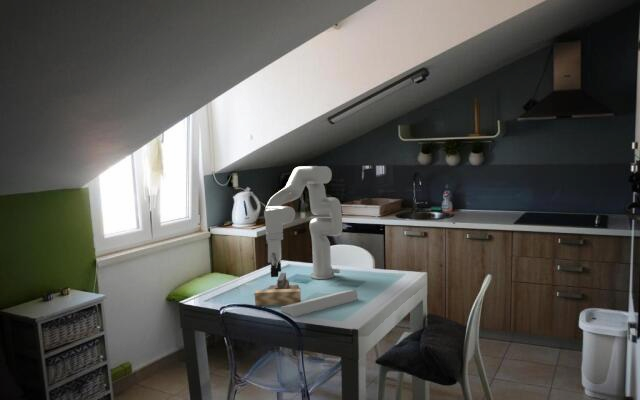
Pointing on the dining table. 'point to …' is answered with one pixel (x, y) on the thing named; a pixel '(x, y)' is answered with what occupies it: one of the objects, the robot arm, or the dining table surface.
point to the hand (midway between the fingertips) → (276, 274)
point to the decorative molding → (320, 303)
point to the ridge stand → (283, 283)
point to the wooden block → (277, 296)
